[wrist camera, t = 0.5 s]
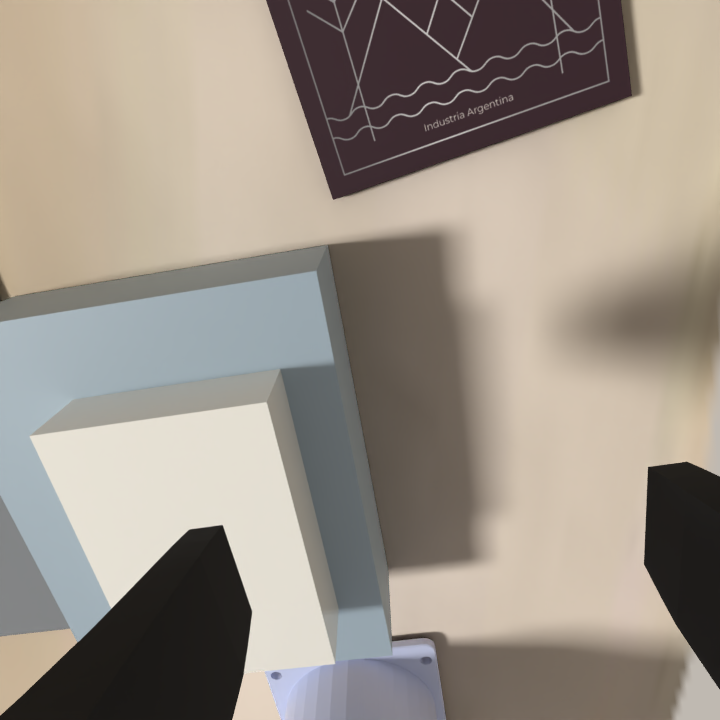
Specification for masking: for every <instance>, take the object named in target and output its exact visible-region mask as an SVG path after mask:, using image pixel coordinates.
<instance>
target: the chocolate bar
mask: <svg viewBox="0 0 720 720" xmlns="http://www.w3.org/2000/svg"><path fill="white" fill-rule="evenodd" d="M266 1H267V4H268V7H269V10H270V13H271V16H272V19H273V22H274V25H275V28H276V31H277V34H278V37H279V40H280V43H281V46H282V49H283V52H284V55H285V58H286V61H287V64H288V67H289V70H290V73H291V76H292V79H293V81H294V84H295V87H296V90H297V93H298V96H299V99H300V102H301V105H302V108H303V111H304V114H305V117H306V120H307V123H308V126H309V129H310V132H311V135H312V138H313V141H314V144H315V147H316V150H317V153H318V156H319V159H320V162H321V165H322V168H323V171H324V174H325V177H326V180H327V183H328V186H329V189H330V192H331V195H332V198H333V200H334V199H337V198H340V197H343V196H345V195H348V194H351V193H354V192H357V191H360V190H363V189H365V188H368V187H371V186H374V185H377V184H380V183H383V182H386V181H388V180H391V179H394V178H397V177H400V176H403V175H406V174H408V173H411V172H414V171H417V170H420V169H423V168H426V167H428V166H431V165H434V164H437V163H440V162H443V161H446V160H449V159H451V158H454V157H457V156H460V155H463V154H466V153H469V152H471V151H474V150H477V149H480V148H483V147H486V146H489V145H491V144H494V143H497V142H500V141H503V140H506V139H509V138H512V137H514V136H517V135H520V134H523V133H526V132H529V131H532V130H534V129H537V128H540V127H543V126H546V125H549V124H552V123H554V122H557V121H560V120H563V119H566V118H569V117H572V116H575V115H577V114H580V113H583V112H586V111H589V110H592V109H595V108H597V107H600V106H603V105H606V104H609V103H612V102H615V101H618V100H620V99H623V98H626V97H629V96H632V93H631V84H630V76H629V67H628V58H627V50H626V41H625V32H624V23H623V15H622V6H621V0H266Z"/></svg>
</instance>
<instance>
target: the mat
mask: <svg viewBox="0 0 720 720" xmlns="http://www.w3.org/2000/svg"><path fill="white" fill-rule="evenodd" d="M0 302H1V301H0ZM61 629H70V627H69V625H68V623H67V621H66V619H65V617H64V615H63V614H62V612H61V610H60V608H59V606H58V604H57V602H56V600H55V598H54V596H53V595H52V593H51V591H50V589H49V587H48V585H47V583H46V581H45V579H44V577H43V576H42V574H41V572H40V570H39V568H38V566H37V564H36V562H35V560H34V558H33V557H32V555H31V553H30V551H29V549H28V547H27V545H26V543H25V541H24V539H23V537H22V536H21V534H20V532H19V530H18V528H17V526H16V524H15V522H14V520H13V518H12V517H11V515H10V513H9V511H8V509H7V507H6V505H5V503H4V501H3V499H2V498H1V496H0V636H8V635H16V634H25V633H34V632H43V631H52V630H61Z"/></svg>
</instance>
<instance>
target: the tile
mask: <svg viewBox="0 0 720 720" xmlns="http://www.w3.org/2000/svg"><path fill="white" fill-rule="evenodd" d="M30 439H31V441H32V443H33V445H34V447H35V449H36V451H37V453H38V455H39V458H40V460H41V462H42V464H43V466H44V468H45V470H46V472H47V474H48V477H49V479H50V481H51V483H52V485H53V487H54V489H55V491H56V493H57V496H58V498H59V500H60V502H61V504H62V506H63V508H64V510H65V512H66V514H67V517H68V519H69V521H70V523H71V525H72V527H73V529H74V531H75V533H76V536H77V538H78V540H79V542H80V544H81V546H82V548H83V550H84V552H85V555H86V557H87V559H88V561H89V563H90V565H91V567H92V569H93V571H94V574H95V576H96V578H97V580H98V582H99V584H100V586H101V588H102V590H103V593H104V595H105V597H106V599H107V601H108V603H109V605H110V607H111V609H112V608H113V607H114V605H115V604H116V603H117V602H118V601H119V600H120V599H121V598H122V597H123V596H124V595H125V594H126V593H127V592H128V591H129V590H130V589H131V588H132V587H133V586H134V585H135V584H136V583H137V582H138V581H139V580H140V579H141V578H142V577H143V576H144V575H145V574H146V572H147V571H148V570H149V569H150V568H151V567H152V566H153V565H154V564H155V563H156V562H157V561H158V560H159V559H160V558H161V557H162V556H163V555H164V554H165V553H166V552H167V551H168V550H169V549H170V548H171V547H172V546H173V545H174V544H175V543H176V542H177V541H178V540H179V539H180V538H181V537H182V536H183V535H184V534H185V533H186V532H187V531H188V530H189V529H196V528H204V527H211V526H218V525H223V527H224V530H225V533H226V536H227V539H228V542H229V545H230V548H231V551H232V554H233V557H234V559H235V562H236V565H237V568H238V571H239V574H240V577H241V580H242V583H243V586H244V589H245V592H246V595H247V598H248V600H249V603H250V606H251V609H252V618H251V626H250V634H249V642H248V649H247V655H246V662H245V668H244V673H252V672H262V671H272V670H282V669H292V668H301V667H311V666H321V665H331V664H335V661H336V645H337V629H338V613H339V608H338V604H337V600H336V595H335V591H334V587H333V583H332V579H331V575H330V571H329V567H328V563H327V558H326V554H325V550H324V546H323V542H322V538H321V534H320V530H319V526H318V522H317V517H316V513H315V509H314V505H313V501H312V497H311V493H310V489H309V485H308V481H307V476H306V472H305V468H304V464H303V460H302V456H301V452H300V448H299V444H298V439H297V435H296V431H295V427H294V423H293V419H292V415H291V411H290V407H289V403H288V398H287V394H286V390H285V386H284V382H283V378H282V374H281V370H280V369H277V370H270V371H263V372H256V373H249V374H243V375H236V376H229V377H222V378H216V379H209V380H202V381H195V382H188V383H182V384H175V385H168V386H161V387H154V388H148V389H141V390H134V391H127V392H121V393H114V394H107V395H100V396H93V397H87V398H80V399H73V400H72V401H71V402H70V403H69V404H67V405H66V406H65V407H64V408H63V409H61V410H60V411H59V412H58V413H57V414H55V415H54V416H53V417H52V418H51V419H49V420H48V421H47V422H46V423H44V424H43V425H42V426H41V427H40V428H38V429H37V430H36V431H35V432H34V433H32V434H31V435H30Z"/></svg>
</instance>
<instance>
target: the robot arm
mask: <svg viewBox="0 0 720 720" xmlns="http://www.w3.org/2000/svg"><path fill="white" fill-rule="evenodd" d="M644 565H645V567H646V569H647V571H648V573H649V575H650V577H651V578H652V580H653V582H654V584H655V586H656V588H657V590H658V592H659V594H660V596H661V598H662V600H663V602H664V603H665V605H666V607H667V609H668V611H669V613H670V614H671V616H672V618H673V620H674V622H675V624H676V625H677V627H678V628H679V630H680V631H681V633H682V634H683V636H684V637H685V639H686V640H687V642H688V643H689V645H690V646H691V648H692V649H693V651H694V652H695V654H696V655H697V657H698V658H699V660H700V661H701V663H702V664H703V666H704V667H705V668H706V670H707V671H708V673H709V674H710V676H711V677H712V679H713V680H714V682H715V683H716V685H717V686H718V688H719V689H720V477H719V476H717V475H715V474H713V473H711V472H709V471H707V470H704V469H702V468H700V467H698V466H695V465H693V464H691V463H688V462H682V463H675V464H668V465H660V466H653V467H648V483H647V507H646V531H645V555H644ZM251 618H252V609H251V606H250V603H249V600H248V598H247V595H246V592H245V589H244V586H243V583H242V580H241V577H240V574H239V571H238V568H237V565H236V562H235V559H234V557H233V554H232V551H231V548H230V545H229V542H228V539H227V536H226V533H225V530H224V527H223V525H218V526H211V527H204V528H196V529H189V530H188V531H187V532H186V533H185V534H184V535H183V536H182V537H181V538H180V539H179V540H178V541H177V542H176V543H175V544H174V545H173V546H172V547H171V548H170V549H169V550H168V551H167V552H166V553H165V554H164V555H163V556H162V557H161V558H160V559H159V560H158V561H157V562H156V563H155V564H154V565H153V566H152V567H151V568H150V569H149V570H148V571H147V572H146V574H145V575H144V576H143V577H142V578H141V579H140V580H139V581H138V582H137V583H136V584H135V585H134V586H133V587H132V588H131V589H130V590H129V591H128V592H127V593H126V594H125V595H124V596H123V597H122V598H121V599H120V600H119V601H118V602H117V603H116V604H115V605H114V607H113V608H112V609H111V610H110V611H109V612H108V613H107V614H106V615H105V616H104V617H103V618H102V619H101V620H100V621H99V622H98V623H97V624H96V625H95V626H94V627H93V628H92V629H91V630H90V631H89V632H88V633H87V634H86V635H85V636H84V637H83V638H82V639H81V640H80V641H79V642H78V643H77V644H76V645H75V646H74V647H73V648H71V649H70V650H69V651H68V652H67V653H66V654H65V655H64V656H63V657H62V658H61V659H60V660H59V661H58V662H57V663H56V664H55V665H54V666H53V667H52V668H51V669H50V670H49V671H48V672H46V673H45V674H44V675H43V676H42V677H41V678H40V679H39V680H38V681H37V682H36V683H35V684H34V685H33V686H32V687H31V688H30V689H29V690H28V691H27V692H26V693H25V694H24V695H23V696H21V697H20V698H19V699H18V700H17V701H16V702H15V703H14V704H13V705H12V706H10V707H9V708H8V709H7V710H6V711H5V712H4V713H3V714H2V715H1V716H0V720H232V718H233V714H234V710H235V706H236V702H237V699H238V695H239V691H240V687H241V683H242V678H243V674H244V668H245V662H246V655H247V649H248V642H249V634H250V626H251ZM392 654H393V655H392V656H383V657H373V658H363V659H353V660H344V661H335V664H331V665H321V666H311V667H301V668H292V669H282V670H272V671H265V674H266V677H267V680H268V683H269V686H270V689H271V692H272V695H273V698H274V701H275V704H276V707H277V710H278V712H279V715H280V718H281V720H446V715H445V708H444V701H443V695H442V688H441V682H440V675H439V669H438V662H437V655H436V649H435V644H434V642H433V641H432V640H430V639H427V638H419V639H409V640H399V641H392Z"/></svg>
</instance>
